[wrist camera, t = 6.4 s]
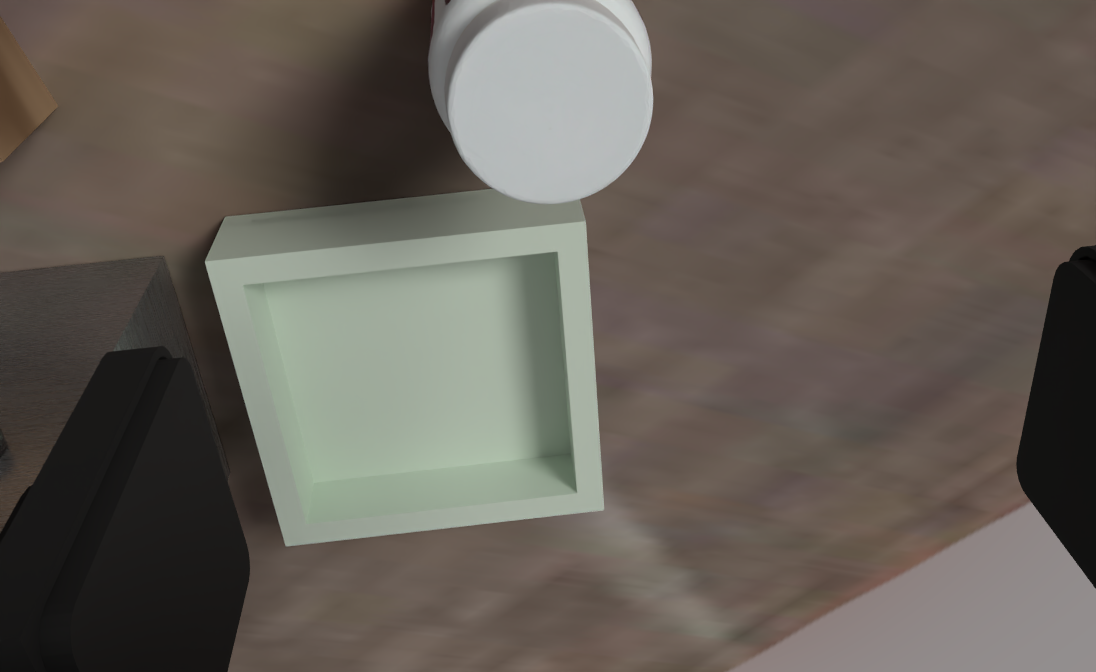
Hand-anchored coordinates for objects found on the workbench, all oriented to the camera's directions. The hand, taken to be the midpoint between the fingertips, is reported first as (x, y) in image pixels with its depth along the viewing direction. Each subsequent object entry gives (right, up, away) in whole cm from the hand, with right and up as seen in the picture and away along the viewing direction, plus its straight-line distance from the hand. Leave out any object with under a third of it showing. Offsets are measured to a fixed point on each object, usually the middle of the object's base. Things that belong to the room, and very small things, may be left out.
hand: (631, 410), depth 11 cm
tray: (-5, +1, +21) cm, 21 cm away
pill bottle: (-2, +10, +16) cm, 18 cm away
